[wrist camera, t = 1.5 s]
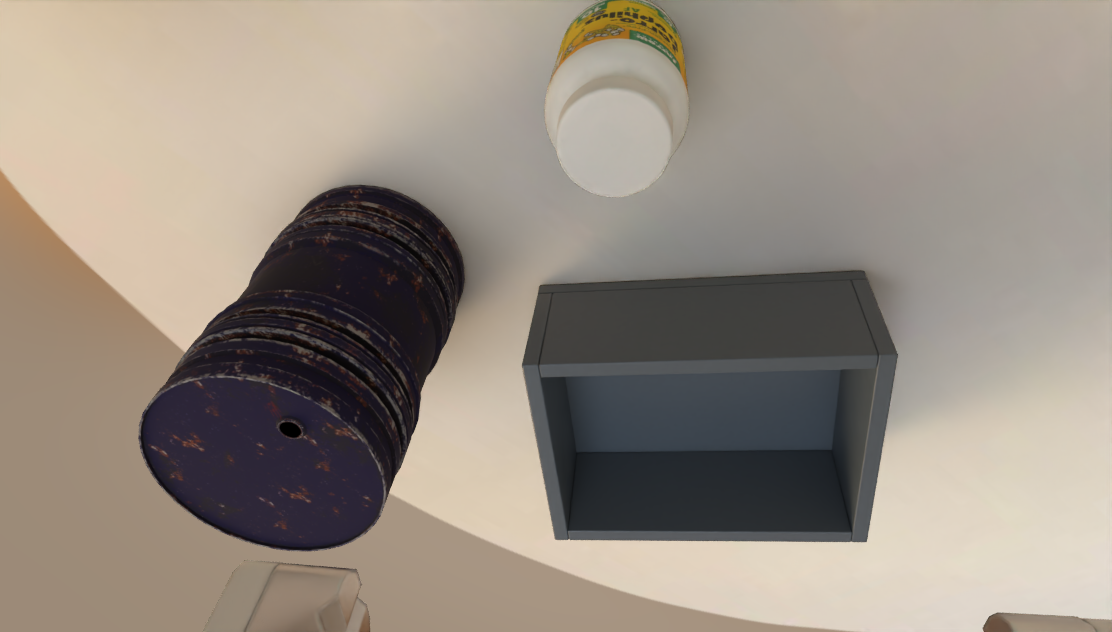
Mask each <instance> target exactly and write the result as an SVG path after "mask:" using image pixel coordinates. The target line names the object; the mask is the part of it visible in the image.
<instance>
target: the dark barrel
mask: <svg viewBox="0 0 1112 632" xmlns="http://www.w3.org/2000/svg"><path fill="white" fill-rule="evenodd" d="M464 280H465V278H464V265H463V261H462V256H461V254H460V251H459V249H458V246H457V244H456V242H455V240H454V239H453V237H452V235H451V234H450V232H449V231H448V230H447V228H446V227H445V226H444V225H443V223H442V222H441V221H440V220H439V219H438V218H437V217H436V216H435V215H434V214H433V213H431V212H430V211H429V210H428V209H426V208H425V207H424V206H422V205H421V204H419V203H418V202H416V201H414V200H412V199H411V198H409V197H407V196H405V195H403V194H400V193H397V192H395V191H392V190H389V189H385V188H380V187H376V186H365V185H354V186H344V187H340V188H335V189H332V190H329V191H327V192H325V193H322V194H320V195H319V196H317V197H316V198H314V199H313V200H311V201H310V202H309V203H308V204H307V205H306V206H305V207H304V208H303V209H302V210H301V211H300V213H299V214H298V215H297V217H296V218H295V220H294V221H293V222H292V223H290V224H289V225H288V226H287V227H286V228H285V229H284V230H283V231H282V232H281V233H280V234H279V235H278V237H277V238H276V239H275V240H274V242H273V243H272V244H271V246H270V247H269V249H268V251H267V252H266V254H265V256H264V258H263V259H262V261H261V262H260V263H259V265H258V266H257V268H256V269H255V271H254V272H253V275H252V277H251V280H250V283H249V286H248V287H247V289H246V290H245V291H244V292H243V294H242V295H241V296H240V298H239V299H238V300H237V301H236V302H234V303H233V304H231V305H229V306H228V307H227V308H226V309H225V310H224V311H222V312H221V313H219V314H218V315H217V316H216V317H215V318H214V319H213V320H212V321H210V322H209V323H208V325H207V327H206V328H205V330H204V331H203V333H202V334H201V335H200V336H199V337H198V338H197V339H196V340H195V342H194V343H193V344H192V345H191V347H190V348H189V349H188V350H187V352H186V353H185V354H184V355H183V357H182V358H181V360H180V362H179V363H178V365H177V366H176V369H175V371H174V372H173V373H172V375H171V376H170V378H169V379H168V381H167V382H166V384H165V385H164V386H163V387H162V388H161V389H160V390H159V391H158V393H157V394H156V395H155V396H154V398H153V399H152V400H151V401H150V403H149V404H148V406H147V408H146V409H145V411H144V412H143V414H142V418H141V421H140V424H139V444H140V449H141V453H142V456H143V458H144V461H145V463H146V466H147V467H148V469H149V471H150V472H151V474H152V476H153V477H154V479H155V480H156V481H157V483H158V484H159V485H160V486H161V488H162V489H163V490H164V491H165V492H166V493H167V494H168V495H169V496H170V497H171V498H172V499H173V500H174V501H175V502H176V503H177V504H178V505H180V506H181V507H182V508H184V509H185V510H186V511H187V512H189V513H190V514H191V515H193V516H194V517H196V518H197V519H199V520H201V521H202V522H204V523H205V524H207V525H209V526H211V527H213V528H214V529H216V530H218V531H220V532H222V533H225V534H227V535H229V536H232V537H234V538H237V539H239V540H242V541H245V542H249V543H252V544H255V545H259V546H263V547H268V548H273V549H280V550H288V551H318V550H327V549H331V548H335V547H339V546H342V545H345V544H347V543H350V542H353V541H354V540H356V539H358V538H359V537H361V536H363V535H364V534H366V533H367V532H368V531H369V530H370V529H371V528H372V527H373V526H374V525H375V523H376V522H377V520H378V519H379V517H380V516H381V513H382V511H383V508H384V505H385V502H386V500H387V497H388V494H389V491H390V488H391V486H392V483H393V481H394V478H395V475H396V474H397V472H398V471H399V469H400V468H401V465H402V463H403V460H404V457H405V454H406V452H407V449H408V446H409V443H410V440H411V436H412V434H413V433H414V430H415V427H416V425H417V422H418V417H419V409H420V400H421V394H420V393H421V390H422V387H423V385H424V382H425V379H426V377H427V375H428V374H429V373H430V372H431V371H432V369H433V368H434V366H435V364H436V363H437V361H438V358H439V355H440V353H441V350H442V349H443V347H444V345H445V344H446V342H447V339H448V337H449V334H450V331H451V328H452V326H453V323H454V320H455V314H456V308H457V306H458V303H459V300H460V298H461V295H462V292H463V287H464Z"/></svg>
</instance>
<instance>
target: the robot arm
mask: <svg viewBox="0 0 1112 632" xmlns="http://www.w3.org/2000/svg"><path fill="white" fill-rule="evenodd" d="M360 587H361V581H360V578H359V575H358V572H357V569H348V568H336V567H324V566H311V565H299V564H286V563H279V562H265V561H249V560H244V561H243V562H242V563H241V564H240V565H239V566H238V567H237V568H236V569H235V570H234V572H233V573H232V575H231V577H230V579H229V581H228V583H227V585H226V587H225V589H224V591H223V593H222V595H221V597H220V599H219V600H218V602H217V604H216V607H215V608H214V610H213V612H212V614H211V616H210V618H209V620H208V622H207V624H206V626H205V628H204V630H203V632H370V616H369V611H368V608H367V604H366V603H364V602H363V601H362V600H360V599H359V598H358V597H357V596H358V593H359V590H360ZM983 631H984V632H1112V620H1106V619H1087V618H1079V617H1074V616H1055V615H1036V614H1017V613H996V614H993V615H991V616H989V618H988V619H987V621H986V623H985V625H984V627H983Z"/></svg>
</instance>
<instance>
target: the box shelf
mask: <svg viewBox="0 0 1112 632" xmlns="http://www.w3.org/2000/svg"><path fill="white" fill-rule="evenodd" d="M897 357H898V354H897V351H896V349H895V346H894V344H893V342H892V339H891V337H890V334H889V332H888V329H887V327H886V324H885V322H884V319H883V317H882V314H881V312H880V309H879V307H878V304H877V302H876V299H875V297H874V294H873V292H872V289H871V287H870V284H869V282H868V280H867V277H866V275H865V272H864V271H852V272H830V273H808V274H786V275H764V276H742V277H720V278H698V279H676V280H653V281H631V282H609V283H587V284H565V285H543V286H540V287H539V292H538V296H537V300H536V305H535V309H534V314H533V318H532V323H531V327H530V332H529V336H528V341H527V345H526V350H525V354H524V359H523V363H522V368H523V374H524V379H525V384H526V389H527V395H528V400H529V405H530V410H531V416H532V421H533V426H534V431H535V437H536V442H537V447H538V452H539V458H540V463H541V468H542V473H543V479H544V484H545V489H546V494H547V500H548V505H549V510H550V515H551V521H552V526H553V531H554V536H555V539H556V540H568V539H570V540H651V541H787V542H851V541H852V542H867V537H868V531H869V525H870V519H871V513H872V507H873V501H874V495H875V489H876V483H877V477H878V471H879V465H880V459H881V453H882V447H883V441H884V435H885V429H886V423H887V417H888V411H889V405H890V399H891V393H892V387H893V381H894V375H895V369H896V363H897Z"/></svg>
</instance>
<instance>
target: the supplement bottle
mask: <svg viewBox="0 0 1112 632" xmlns="http://www.w3.org/2000/svg"><path fill="white" fill-rule="evenodd" d="M544 115H545V124H546V129H547V132H548V135H549V138H550V140H551V142H552V144H553V146H554V148H555V149H556V152H557V156H558V159H559V162H560V164H561V166H562V168H563V170H564V171H565V173H566V174H567V176H568V177H569V178H570V179H571V180H572V181H573V182H574V183H575V184H577V185H578V186H579V187H581V188H582V189H584V190H586V191H588V192H590V193H593V194H596V195H599V196H604V197H624V196H628V195H632V194H635V193H638V192H640V191H642V190H644V189H646V188H647V187H649V186H650V185H651V184H653V183H654V182H655V181H656V180H657V179H658V178H659V177H660V175H661V174H662V173H663V171H664V170H665V168H666V166H667V164H668V162H669V159H670V157H671V156H672V155H673V154H674V152H675V151H676V150H677V148H678V146H679V145H680V143H681V141H682V139H683V137H684V135H685V132H686V128H687V124H688V119H689V98H688V89H687V79H686V70H685V60H684V53H683V47H682V42H681V39H680V36H679V34H678V32H677V29H676V27H675V26H674V24H673V22H672V21H671V19H670V18H669V17H668V16H667V15H666V14H665V12H664V11H663V10H662V9H660V8H659V7H658V6H656V5H655V4H653V3H651V2H648V1H646V0H602V1H600V2H597V3H595V4H594V5H592V6H590V7H588V8H587V9H585V10H584V11H583V12H581V13H580V14H579V15H578V16H577V17H576V18H575V19H574V20H573V22H572V23H571V24H570V26H569V28H568V29H567V31H566V33H565V35H564V38H563V40H562V43H561V47H560V50H559V54H558V57H557V61H556V64H555V67H554V70H553V73H552V76H551V80H550V83H549V86H548V89H547V93H546V99H545V107H544Z"/></svg>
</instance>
